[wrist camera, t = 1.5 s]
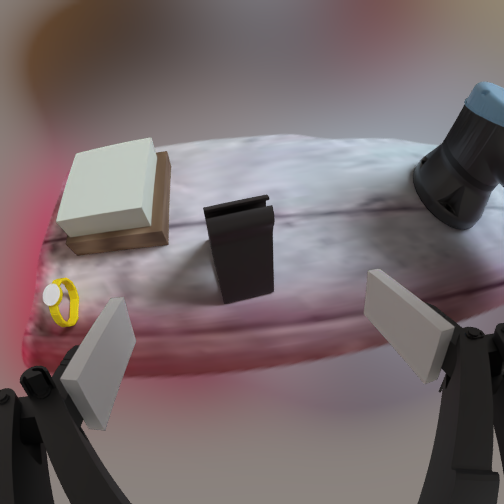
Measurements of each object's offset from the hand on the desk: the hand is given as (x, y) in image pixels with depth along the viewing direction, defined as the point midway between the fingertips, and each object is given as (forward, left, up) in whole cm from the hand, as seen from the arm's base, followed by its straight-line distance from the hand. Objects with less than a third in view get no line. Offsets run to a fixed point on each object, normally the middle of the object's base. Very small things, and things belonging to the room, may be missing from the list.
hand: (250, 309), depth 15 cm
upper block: (+16, -22, -15) cm, 31 cm away
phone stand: (0, -11, -19) cm, 22 cm away
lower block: (+15, -22, -19) cm, 33 cm away
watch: (+22, -7, -19) cm, 30 cm away
